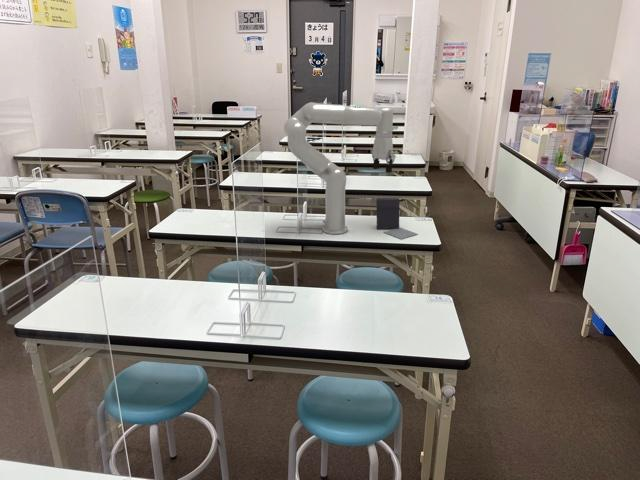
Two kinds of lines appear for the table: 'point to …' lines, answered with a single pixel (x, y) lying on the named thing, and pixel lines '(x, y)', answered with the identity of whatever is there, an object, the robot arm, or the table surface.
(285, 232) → the table surface
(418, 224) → the table surface
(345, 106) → the robot arm
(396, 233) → the mat
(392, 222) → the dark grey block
